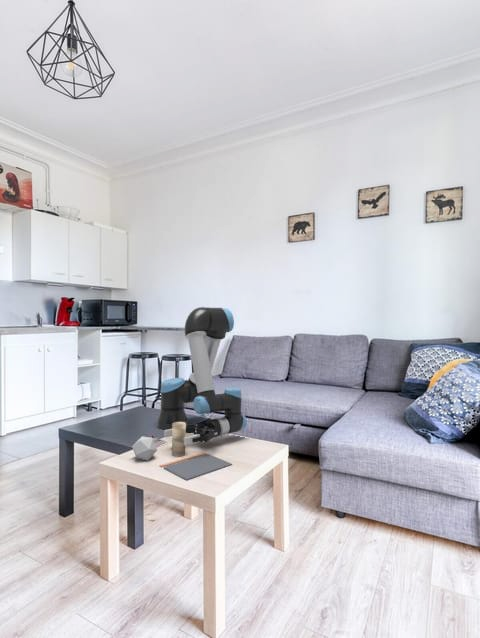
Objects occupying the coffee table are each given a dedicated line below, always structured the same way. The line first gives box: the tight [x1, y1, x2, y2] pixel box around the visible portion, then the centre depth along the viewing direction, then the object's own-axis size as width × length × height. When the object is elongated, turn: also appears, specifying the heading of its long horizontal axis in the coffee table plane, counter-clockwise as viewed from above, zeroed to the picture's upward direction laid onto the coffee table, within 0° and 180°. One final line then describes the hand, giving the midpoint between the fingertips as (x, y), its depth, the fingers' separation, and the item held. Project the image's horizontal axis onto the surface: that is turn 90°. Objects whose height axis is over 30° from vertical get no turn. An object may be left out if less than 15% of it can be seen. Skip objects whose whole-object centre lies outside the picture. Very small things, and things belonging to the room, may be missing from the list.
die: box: [132, 436, 158, 461], centre depth 140 cm, size 8×9×10 cm
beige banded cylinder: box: [171, 422, 187, 457], centre depth 145 cm, size 5×5×12 cm
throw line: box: [159, 452, 207, 468], centre depth 138 cm, size 20×2×1 cm, turn 133°
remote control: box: [150, 435, 168, 448], centre depth 158 cm, size 7×16×3 cm, turn 56°
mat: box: [163, 453, 233, 482], centre depth 132 cm, size 20×14×1 cm
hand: (174, 437), depth 143 cm, fingers open, 13 cm apart
